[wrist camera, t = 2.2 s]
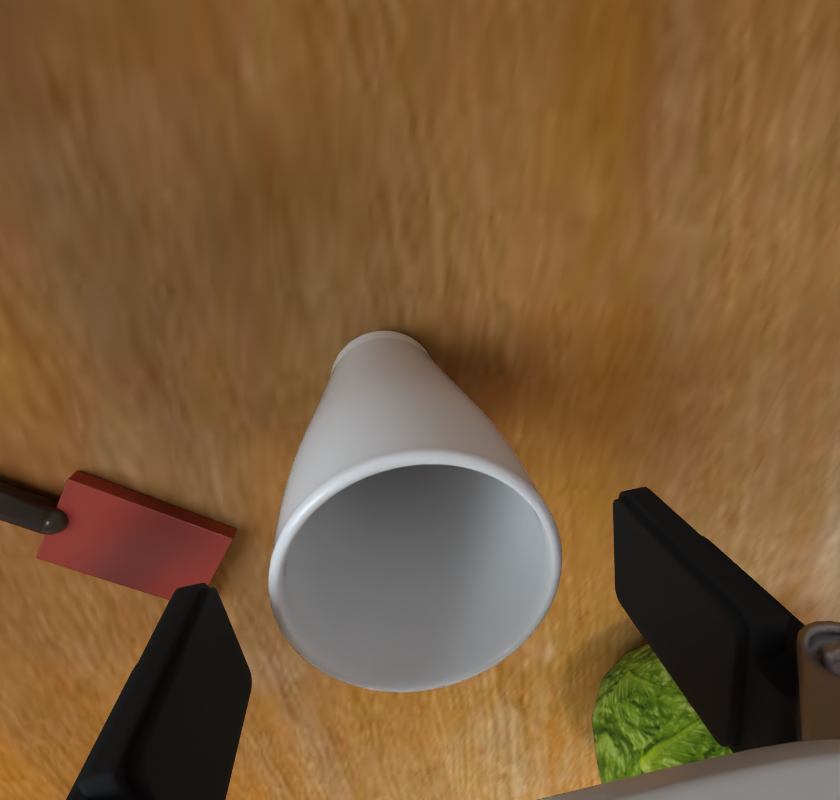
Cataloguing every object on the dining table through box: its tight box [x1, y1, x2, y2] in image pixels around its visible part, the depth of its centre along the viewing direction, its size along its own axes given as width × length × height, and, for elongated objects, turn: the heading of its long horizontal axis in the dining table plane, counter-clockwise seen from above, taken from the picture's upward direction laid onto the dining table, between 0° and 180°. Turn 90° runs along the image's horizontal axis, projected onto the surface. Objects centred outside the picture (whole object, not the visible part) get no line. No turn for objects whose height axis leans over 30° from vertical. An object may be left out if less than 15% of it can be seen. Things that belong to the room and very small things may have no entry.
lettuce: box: [592, 644, 733, 784], centre depth 32 cm, size 14×23×14 cm
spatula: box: [0, 471, 237, 600], centre depth 23 cm, size 20×5×2 cm, turn 59°
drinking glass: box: [268, 330, 562, 692], centre depth 17 cm, size 7×7×15 cm
